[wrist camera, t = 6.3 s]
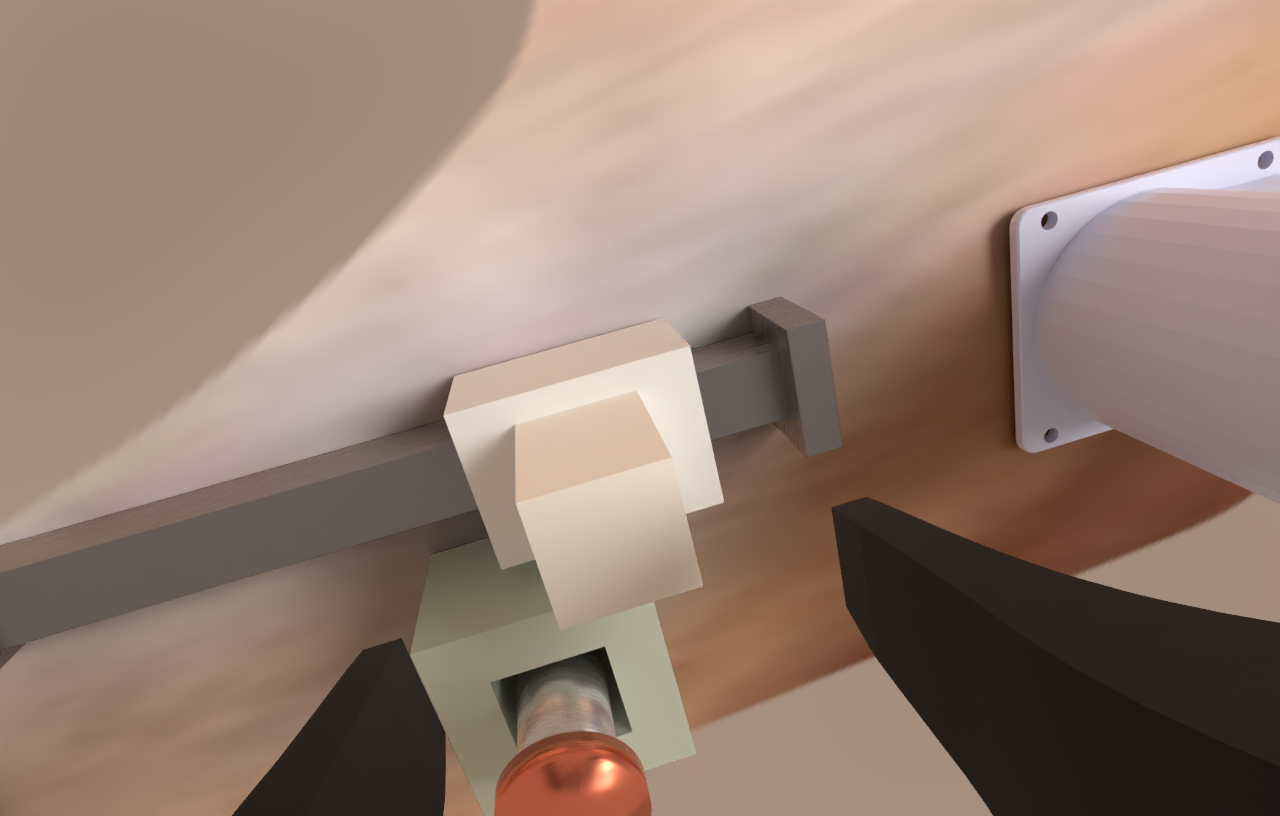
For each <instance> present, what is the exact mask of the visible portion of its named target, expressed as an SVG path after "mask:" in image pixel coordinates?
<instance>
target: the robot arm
mask: <svg viewBox="0 0 1280 816" xmlns="http://www.w3.org/2000/svg"><path fill="white" fill-rule="evenodd" d="M1259 157H1260V160H1259V163H1258V159H1259ZM1046 213H1047V215H1048V220H1047V223H1046V224H1045V225H1044V227H1042V225H1041V220H1042V217H1043V216H1044V215H1045V214H1046ZM1009 230H1010V262H1011V295H1012V327H1013V360H1014V392H1015V425H1016V442H1017V445H1018V446H1019V447H1020V448H1021V449H1023V450H1024V451H1026V452H1029V453H1037V452H1040V451H1044V450H1047V449H1050V448H1053V447H1057V446H1060V445H1063V444H1066V443H1070V442H1073V441H1076V440H1079V439H1083V438H1086V437H1089V436H1092V435H1096V434H1099V433H1102V432H1105V431H1109V430H1112V429H1115V430H1117V431H1120V432H1122V433H1124V434H1126V435H1128V436H1131V437H1133V438H1135V439H1137V440H1139V441H1142V442H1144V443H1146V444H1148V445H1150V446H1153V447H1155V448H1157V449H1159V450H1162V451H1164V452H1166V453H1168V454H1170V455H1173V456H1175V457H1177V458H1179V459H1181V460H1184V461H1186V462H1188V463H1190V464H1192V465H1195V466H1197V467H1199V468H1201V469H1203V470H1206V471H1208V472H1210V473H1212V474H1214V475H1217V476H1219V477H1221V478H1223V479H1225V480H1228V481H1230V482H1232V483H1234V484H1236V485H1239V486H1241V487H1243V488H1245V489H1247V490H1250V491H1252V492H1254V493H1256V494H1258V495H1261V496H1263V497H1265V498H1267V499H1269V500H1272V501H1274V502H1276V503H1278V504H1280V136H1278V137H1274V138H1271V139H1267V140H1263V141H1260V142H1256V143H1253V144H1249V145H1245V146H1242V147H1238V148H1235V149H1231V150H1227V151H1224V152H1220V153H1217V154H1213V155H1209V156H1206V157H1202V158H1199V159H1195V160H1191V161H1188V162H1184V163H1181V164H1177V165H1173V166H1170V167H1166V168H1163V169H1159V170H1156V171H1152V172H1148V173H1145V174H1141V175H1138V176H1134V177H1130V178H1127V179H1123V180H1120V181H1116V182H1112V183H1109V184H1105V185H1102V186H1098V187H1094V188H1091V189H1087V190H1084V191H1080V192H1076V193H1073V194H1069V195H1066V196H1062V197H1058V198H1055V199H1051V200H1048V201H1044V202H1040V203H1037V204H1033V205H1030V206H1026V207H1023V208H1021V209H1019V210H1018V211H1017V212H1016V213H1015V214H1014V215H1013V217H1012V219H1011V222H1010V228H1009ZM1049 429H1050V431H1049V433H1048V435H1047V436H1046V437H1044V435H1045V433H1046V432H1047V430H1049ZM832 514H833V521H834V527H835V534H836V541H837V547H838V554H839V561H840V567H841V574H842V581H843V587H844V594H845V601H846V607H847V608H848V610H849V612H850V614H851V616H852V617H853V619H854V621H855V623H856V624H857V626H858V628H859V630H860V631H861V633H862V635H863V637H864V638H865V640H866V642H867V643H868V645H869V647H870V648H871V650H872V652H873V653H874V655H875V657H876V658H877V660H878V661H879V662H880V663H881V665H882V666H883V668H884V669H885V670H886V672H887V673H888V674H889V676H890V677H891V679H892V680H893V681H894V683H895V684H896V685H897V687H898V688H899V689H900V690H901V692H902V693H903V694H904V696H905V697H906V698H907V700H908V701H909V702H910V704H911V705H912V706H913V708H914V709H915V710H916V711H917V713H918V714H919V715H920V717H921V718H922V719H923V721H924V722H925V723H926V725H927V726H928V727H929V728H930V730H931V731H932V732H933V734H934V735H935V736H936V737H937V739H938V740H939V741H940V743H941V744H942V745H943V747H944V748H945V749H946V751H947V752H948V753H949V755H950V756H951V757H952V758H953V760H954V761H955V762H956V764H957V765H958V766H959V767H960V769H961V770H962V772H963V773H964V774H965V775H966V777H967V778H968V780H969V781H970V783H971V784H972V785H973V787H974V788H975V790H976V791H977V792H978V794H979V795H980V797H981V798H982V799H983V801H984V802H985V804H986V805H987V806H988V808H989V810H990V812H991V813H992V815H993V816H1280V623H1278V622H1271V621H1265V620H1260V619H1254V618H1248V617H1243V616H1237V615H1230V614H1226V613H1220V612H1216V611H1211V610H1206V609H1201V608H1197V607H1192V606H1187V605H1182V604H1177V603H1172V602H1168V601H1163V600H1159V599H1155V598H1150V597H1146V596H1142V595H1138V594H1134V593H1130V592H1126V591H1122V590H1119V589H1115V588H1112V587H1108V586H1104V585H1101V584H1097V583H1093V582H1090V581H1086V580H1083V579H1079V578H1076V577H1072V576H1069V575H1066V574H1063V573H1060V572H1056V571H1053V570H1050V569H1047V568H1044V567H1041V566H1039V565H1036V564H1033V563H1030V562H1027V561H1024V560H1021V559H1018V558H1016V557H1013V556H1010V555H1007V554H1004V553H1002V552H999V551H996V550H994V549H991V548H989V547H986V546H983V545H981V544H978V543H976V542H973V541H971V540H968V539H966V538H963V537H961V536H958V535H956V534H954V533H951V532H949V531H946V530H944V529H942V528H939V527H937V526H934V525H932V524H930V523H927V522H925V521H923V520H921V519H918V518H916V517H914V516H911V515H909V514H907V513H904V512H902V511H900V510H897V509H895V508H893V507H890V506H888V505H886V504H883V503H881V502H878V501H876V500H873V499H870V498H868V497H865V498H861V499H858V500H855V501H851V502H848V503H845V504H842V505H838V506H835V507H832ZM445 776H446V743H445V731H444V729H443V727H442V725H441V722H440V720H439V718H438V716H437V714H436V712H435V710H434V707H433V705H432V703H431V701H430V699H429V697H428V694H427V692H426V690H425V688H424V686H423V684H422V682H421V679H420V677H419V675H418V673H417V671H416V669H415V666H414V664H413V662H412V660H411V658H410V656H409V654H408V651H407V649H406V647H405V645H404V643H403V641H402V638H401V639H398V640H394V641H391V642H388V643H385V644H381V645H378V646H375V647H371V648H368V649H365V650H363V651H362V652H361V653H360V655H359V656H358V657H357V658H356V659H355V660H354V662H353V663H352V664H351V665H350V667H349V668H348V669H347V671H346V672H345V673H344V674H343V676H342V677H341V678H340V680H339V681H338V682H337V684H336V685H335V686H334V687H333V689H332V690H331V691H330V693H329V694H328V695H327V697H326V698H325V699H324V701H323V702H322V703H321V705H320V706H319V707H318V709H317V710H316V711H315V713H314V714H313V715H312V717H311V718H310V719H309V720H308V722H307V723H306V724H305V726H304V727H303V728H302V729H301V731H300V732H299V733H298V735H297V736H296V737H295V739H294V740H293V741H292V742H291V744H290V745H289V746H288V748H287V749H286V750H285V752H284V753H283V754H282V755H281V757H280V758H279V759H278V760H277V762H276V763H275V764H274V765H273V767H272V768H271V769H270V770H269V771H268V773H267V774H266V775H265V776H264V777H263V779H262V780H261V781H260V782H259V783H258V785H257V786H256V787H255V788H254V789H253V791H252V792H251V793H250V794H249V795H248V797H247V798H246V799H245V800H244V802H243V803H242V804H241V805H240V806H239V808H238V809H237V810H236V811H235V812H234V814H233V815H232V816H443V811H444V802H445Z"/></svg>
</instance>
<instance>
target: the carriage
mask: <svg viewBox="0 0 1280 816" xmlns="http://www.w3.org/2000/svg"><path fill="white" fill-rule="evenodd" d="M443 416H444V419H445V421H446V424H447V427H448V429H449V432H450V435H451V437H452V440H453V442H454V445H455V448H456V450H457V453H458V456H459V458H460V461H461V464H462V466H463V469H464V472H465V474H466V477H467V480H468V482H469V485H470V488H471V490H472V493H473V496H474V498H475V501H476V504H477V506H478V509H479V512H480V514H481V517H482V519H483V522H484V525H485V527H486V530H487V533H488V535H489V538H490V541H491V543H492V546H493V549H494V551H495V554H496V557H497V559H498V562H499V565H500V567H501V570H502V569H506V568H509V567H512V566H516V565H519V564H522V563H525V562H529V561H532V560H536V563H537V566H538V568H539V571H540V574H541V577H542V580H543V583H544V586H545V588H546V591H547V594H548V597H549V600H550V603H551V605H552V608H553V611H554V614H555V617H556V620H557V623H558V625H559V628H560V631H562V630H565V629H568V628H571V627H574V626H578V625H581V624H584V623H587V622H591V621H594V620H597V619H600V618H603V617H607V616H610V615H613V614H616V613H620V612H623V611H626V610H629V609H632V608H636V607H639V606H642V605H645V604H648V603H652V602H655V601H658V600H661V599H665V598H668V597H671V596H674V595H677V594H681V593H684V592H687V591H690V590H693V589H697V588H700V587H703V582H702V578H701V574H700V570H699V566H698V562H697V558H696V554H695V550H694V545H693V541H692V537H691V533H690V529H689V525H688V521H687V517H686V514H688V513H691V512H694V511H698V510H701V509H704V508H708V507H711V506H714V505H717V504H721V503H724V499H723V494H722V490H721V485H720V481H719V476H718V472H717V467H716V462H715V458H714V453H713V449H712V444H711V439H710V435H709V430H708V426H707V421H706V417H705V412H704V407H703V403H702V398H701V394H700V389H699V384H698V380H697V375H696V371H695V366H694V362H693V357H692V352H691V348H690V345H689V344H688V343H687V342H686V341H685V340H684V339H683V338H682V337H681V336H680V334H679V333H678V332H677V331H676V330H675V329H674V328H673V327H672V326H671V325H670V324H669V323H668V322H667V320H666V319H665V318H660V319H657V320H653V321H650V322H646V323H643V324H639V325H635V326H632V327H628V328H625V329H621V330H617V331H614V332H610V333H607V334H603V335H600V336H596V337H592V338H589V339H585V340H582V341H578V342H574V343H571V344H567V345H564V346H560V347H557V348H553V349H549V350H546V351H542V352H539V353H535V354H531V355H528V356H524V357H521V358H517V359H514V360H510V361H506V362H503V363H499V364H496V365H492V366H489V367H485V368H481V369H478V370H474V371H471V372H467V373H463V374H460V375H456V376H454V379H453V382H452V386H451V390H450V393H449V397H448V401H447V404H446V408H445V412H444V415H443Z"/></svg>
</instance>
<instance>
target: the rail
mask: <svg viewBox="0 0 1280 816" xmlns="http://www.w3.org/2000/svg"><path fill="white" fill-rule="evenodd" d="M749 312H750V317H751V323H752V328H753V332H752V333H749V334H745V335H742V336H738V337H735V338H731V339H728V340H724V341H720V342H717V343H713V344H710V345H706V346H703V347H699V348H696V349H692V350H691V352H692V357H693V362H694V366H695V371H696V375H697V380H698V384H699V389H700V394H701V398H702V403H703V407H704V412H705V417H706V421H707V426H708V430H709V435H710V439H711V440H714V439H718V438H721V437H725V436H728V435H731V434H735V433H738V432H742V431H745V430H748V429H752V428H755V427H759V426H762V425H765V424H769V423H772V422H773V423H774V424H775V425H776V426H777V427H778V428H779V429H780V430H781V431H782V432H783V433H784V434H785V435H786V436H787V437H788V438H789V439H790V440H791V441H792V442H793V443H794V445H795V446H796V447H797V448H798V449H799V450H800V451H801V452H802V453H803V454H804V455H805V456H806V457H807V458H808V457H811V456H814V455H818V454H821V453H824V452H828V451H831V450H834V449H838V448H841V447H842V441H841V434H840V426H839V419H838V412H837V405H836V397H835V390H834V383H833V376H832V368H831V361H830V354H829V347H828V339H827V332H826V325H825V320H824V319H822V318H821V317H819V316H817V315H815V314H813V313H811V312H809V311H807V310H805V309H803V308H802V307H800V306H798V305H796V304H794V303H792V302H790V301H788V300H786V299H784V298H782V297H779V298H775V299H772V300H768V301H765V302H761V303H758V304H754V305H751V306H749ZM477 509H478V506H477V504H476V501H475V498H474V496H473V493H472V490H471V488H470V485H469V482H468V480H467V477H466V474H465V472H464V469H463V466H462V464H461V461H460V458H459V456H458V453H457V450H456V448H455V445H454V442H453V440H452V437H451V435H450V432H449V429H448V427H447V424H446V421H445V420H442V421H438V422H435V423H431V424H428V425H424V426H421V427H417V428H414V429H410V430H407V431H403V432H400V433H396V434H393V435H389V436H386V437H382V438H379V439H375V440H371V441H368V442H364V443H361V444H357V445H354V446H350V447H347V448H343V449H340V450H336V451H333V452H329V453H326V454H322V455H319V456H315V457H312V458H308V459H304V460H301V461H297V462H294V463H290V464H287V465H283V466H280V467H276V468H273V469H269V470H266V471H262V472H259V473H255V474H252V475H248V476H245V477H241V478H238V479H234V480H230V481H227V482H223V483H220V484H216V485H213V486H209V487H206V488H202V489H199V490H195V491H192V492H188V493H185V494H181V495H178V496H174V497H171V498H167V499H163V500H160V501H156V502H153V503H149V504H146V505H142V506H139V507H135V508H132V509H128V510H125V511H121V512H118V513H114V514H111V515H107V516H104V517H100V518H96V519H93V520H89V521H86V522H82V523H79V524H75V525H72V526H68V527H65V528H61V529H58V530H54V531H51V532H47V533H44V534H40V535H37V536H33V537H30V538H26V539H22V540H19V541H15V542H12V543H8V544H5V545H1V546H0V668H1V667H2V666H3V665H4V664H5V663H6V662H7V661H8V660H9V659H10V658H11V657H12V656H13V655H14V654H15V653H16V652H17V651H18V650H19V649H20V648H21V647H22V646H23V645H24V644H25V643H26V642H29V641H32V640H36V639H39V638H42V637H46V636H49V635H53V634H56V633H59V632H63V631H66V630H70V629H73V628H76V627H80V626H83V625H87V624H90V623H93V622H97V621H100V620H104V619H107V618H110V617H114V616H117V615H120V614H124V613H127V612H131V611H134V610H137V609H141V608H144V607H148V606H151V605H154V604H158V603H161V602H165V601H168V600H171V599H175V598H178V597H182V596H185V595H188V594H192V593H195V592H199V591H202V590H205V589H209V588H212V587H216V586H219V585H222V584H226V583H229V582H232V581H236V580H239V579H243V578H246V577H249V576H253V575H256V574H260V573H263V572H266V571H270V570H273V569H277V568H280V567H283V566H287V565H290V564H294V563H297V562H300V561H304V560H307V559H311V558H314V557H317V556H321V555H324V554H328V553H331V552H334V551H338V550H341V549H344V548H348V547H351V546H355V545H358V544H361V543H365V542H368V541H372V540H375V539H378V538H382V537H385V536H389V535H392V534H395V533H399V532H402V531H406V530H409V529H412V528H416V527H419V526H423V525H426V524H429V523H433V522H436V521H440V520H443V519H446V518H450V517H453V516H456V515H460V514H463V513H467V512H470V511H473V510H477Z"/></svg>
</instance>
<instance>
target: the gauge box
mask: <svg viewBox="0 0 1280 816" xmlns="http://www.w3.org/2000/svg"><path fill="white" fill-rule="evenodd" d="M598 648H601V654H602V660H603V666H604V671H605V677H606V683H607V688H608V694H609V700H610V705H611V711H612V717H613V723H614V728H615V734H616V738H617V739H619V740H620V741H622V742H624V743H625V744H627V745H628V746H629V747H630V748H631V749H632V750H633V751H634V752H635V753H636V754H637V756H638V757H639V759H640V760H641V763H642V765H643V768H644V771H646V770H650V769H653V768H655V767H659V766H662V765H665V764H668V763H671V762H674V761H677V760H680V759H683V758H686V757H689V756H692V755H695V754H696V750H695V747H694V743H693V740H692V736H691V732H690V729H689V725H688V722H687V718H686V715H685V711H684V707H683V704H682V700H681V697H680V693H679V690H678V686H677V683H676V679H675V675H674V672H673V668H672V665H671V661H670V658H669V654H668V651H667V647H666V643H665V640H664V636H663V633H662V629H661V626H660V622H659V619H658V615H657V611H656V608H655V604H654V602H652V603H648V604H645V605H642V606H639V607H636V608H632V609H629V610H626V611H623V612H620V613H616V614H613V615H610V616H607V617H603V618H600V619H597V620H594V621H591V622H587V623H584V624H581V625H578V626H574V627H571V628H568V629H565V630H562V631H560V628H559V625H558V623H557V620H556V617H555V614H554V611H553V608H552V605H551V603H550V600H549V597H548V594H547V591H546V588H545V586H544V583H543V580H542V577H541V574H540V571H539V568H538V566H537V563H536V560H532V561H529V562H525V563H522V564H519V565H516V566H512V567H509V568H506V569H502V570H501V567H500V565H499V562H498V559H497V557H496V554H495V551H494V549H493V546H492V543H491V541H490V538H485V539H482V540H478V541H475V542H472V543H468V544H465V545H462V546H458V547H455V548H452V549H448V550H445V551H442V552H438V553H435V554H432V555H431V556H430V561H429V566H428V570H427V575H426V580H425V585H424V589H423V594H422V599H421V604H420V608H419V613H418V618H417V623H416V628H415V632H414V637H413V642H412V647H411V651H410V657H411V659H412V661H413V663H414V665H415V667H416V669H417V672H418V674H419V676H420V678H421V680H422V682H423V685H424V687H425V689H426V691H427V693H428V695H429V697H430V700H431V702H432V704H433V706H434V708H435V710H436V713H437V715H438V717H439V719H440V721H441V723H442V725H443V728H444V730H445V732H446V734H447V736H448V738H449V741H450V743H451V745H452V747H453V749H454V751H455V753H456V756H457V758H458V760H459V762H460V764H461V766H462V769H463V771H464V773H465V775H466V777H467V779H468V781H469V784H470V786H471V788H472V790H473V792H474V794H475V797H476V799H477V801H478V803H479V805H480V807H481V809H482V812H483V814H484V816H494V808H495V790H496V785H497V782H498V779H499V777H500V775H501V773H502V772H503V770H504V768H505V767H506V766H507V764H508V763H509V762H510V761H511V760H512V759H513V758H514V757H515V756H516V755H517V674H519V673H522V672H525V671H528V670H532V669H535V668H538V667H541V666H544V665H547V664H551V663H554V662H557V661H560V660H563V659H567V658H570V657H573V656H576V655H579V654H582V653H586V652H589V651H592V650H595V649H598Z"/></svg>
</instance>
